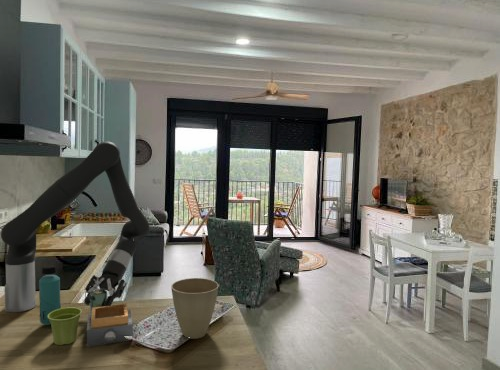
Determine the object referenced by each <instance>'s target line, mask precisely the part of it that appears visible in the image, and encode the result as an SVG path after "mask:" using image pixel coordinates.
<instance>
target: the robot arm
mask: <svg viewBox="0 0 500 370" xmlns="http://www.w3.org/2000/svg"><path fill="white" fill-rule="evenodd" d="M104 172H105V173H106V176H107V179H108V181H109V184H110V187H111V191H112V194H113V198H114V200H115V203H116V205H117V206H116V207H117V208H118V211H119V213H120V215H121V216H122V217H123V218H127V219H128V221H127V222H125V224H124V225H123V226H122V229H121V232H120V235H119V241H118V243H117V245H116V246H115V248H114V250H113V252H112V253H111V254H110V256H109V258H108V259H107V261H106V263H105V264H104V265H105V266H104V267H103V269H102V271H101V272H102V273H101V275H99V277H98V276H96V275H95V274H93V275H92V277H91V278H90V280H89V281H88V283H87V285H86V286H85V288H84V291H86V292H87V294H86V296H85V298H84V301H83V302H84V305H86V306H90V299H88V298H87V296H88V295H89V294H90V293H91V292H93V291H96V290H105V291H107V292H108V294H109V295H107V300H106V302H105V304H104V306H112V305H113V302H114V300H115V299H117V298H118V299H119V298H121V297H122V295H123V293H124V291H125V290H126V289H125V288H126V286H127V284H128V283H127V282H126V280H125V279H123V277H124V275H125V273H126V271H127V270H128V268H129V266H130V263H131V260H132V258H133V256H134V254H135V252H136V250H137V247H138V246H137V243H136V241H135V240H134V239H135V238H143V237H144V238H145V237H146V236H147V235H148V234H149V233H150V224H149V223H150V222H148V221H149V220H148V219H147V218H146V216H145V215H144V213H143V212H142V211H141V210H140V208H139V207H138V204H137V202H136V199H135V196H134V194H133V191H132V189H131V186H130V185H129V182H128V180H127V178H126V174H125V171H124V169H123V164H122V161H121V151H120V149H119V146H118V145H117V144H115V143H114V142H112V141H107V140H106V141H102V142H100V143H98V144H97V145H96V146H95V147H94V149H93V150H92V151H91V152H90V153H89V155H87V157H85V159H84V160H83V161H81V163H79V164H77V166H76V167H74V168H72V169H71V170H69V171H68V172H66V173H64V174H63V175H62V176H61V177H59V178H58V179H57V180H55V181H54V182H53V183H52V184H51V185H50V186H49V187H47V189H46V190H45V191H44V192H43V193H42V194H41V195H39V196H38V198H36V199H35V200H34V201H33V202H32V204H30V206H29V207H27V208H26V209H25V210H24V211H22V212H21V213H20V214H19V215H17V216H16V217H14V218H13V219H11V220H9V221H8V222H6V223H5V225H4V226H3V227H2V228H1V232H0V237H1V241H2V242H3V243H4V244H6V245H8V250H7V253H6V255H5V261H4V262H5V285H4V309H5V310H4V312H6V313H9V312H10V313H19V312H25V311H29V310H31V309H33V308H35V307H36V305H37V303H36V300H37V298H36V266H35V265H36V262H35V261H36V260H35V256H36V253H37V229H38V228H39V227H41V225H42V224H44V223H45V222H46V221H48V220H49V219H51V218H52V217H54V216H55V215H57V214H58V213H60V212H61V211H63V210H64V209H65V208H67V207H68V206H69V205H70V204H71V203H72V202H74V201H75V200H76V199H77V198H78V197H79V196H80V195H82V193H83V192H84V191H85V190H86V189H87V188H88V187H89V185H91V183H92V182H93V181H94V180H95V179H96V178H97V177H99V176H100V175H101V174H103V173H104Z"/></svg>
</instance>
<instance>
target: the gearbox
mask: <svg viewBox="0 0 500 370" xmlns="http://www.w3.org/2000/svg"><path fill="white" fill-rule="evenodd" d="M127 306H128V305H127V303H121V304H114V305H113V304H111V306H103V307H94V308H92V314H91V315H90V314H88V316H87V322H86V348H87V347H88V348H89V347H95V346H101V345H108V344H114V343H123V342H129V340H128V339H126V338H125V337H124V336H134V333H133V327H134V326H133V317H132V313H131V309H128V307H127Z"/></svg>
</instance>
